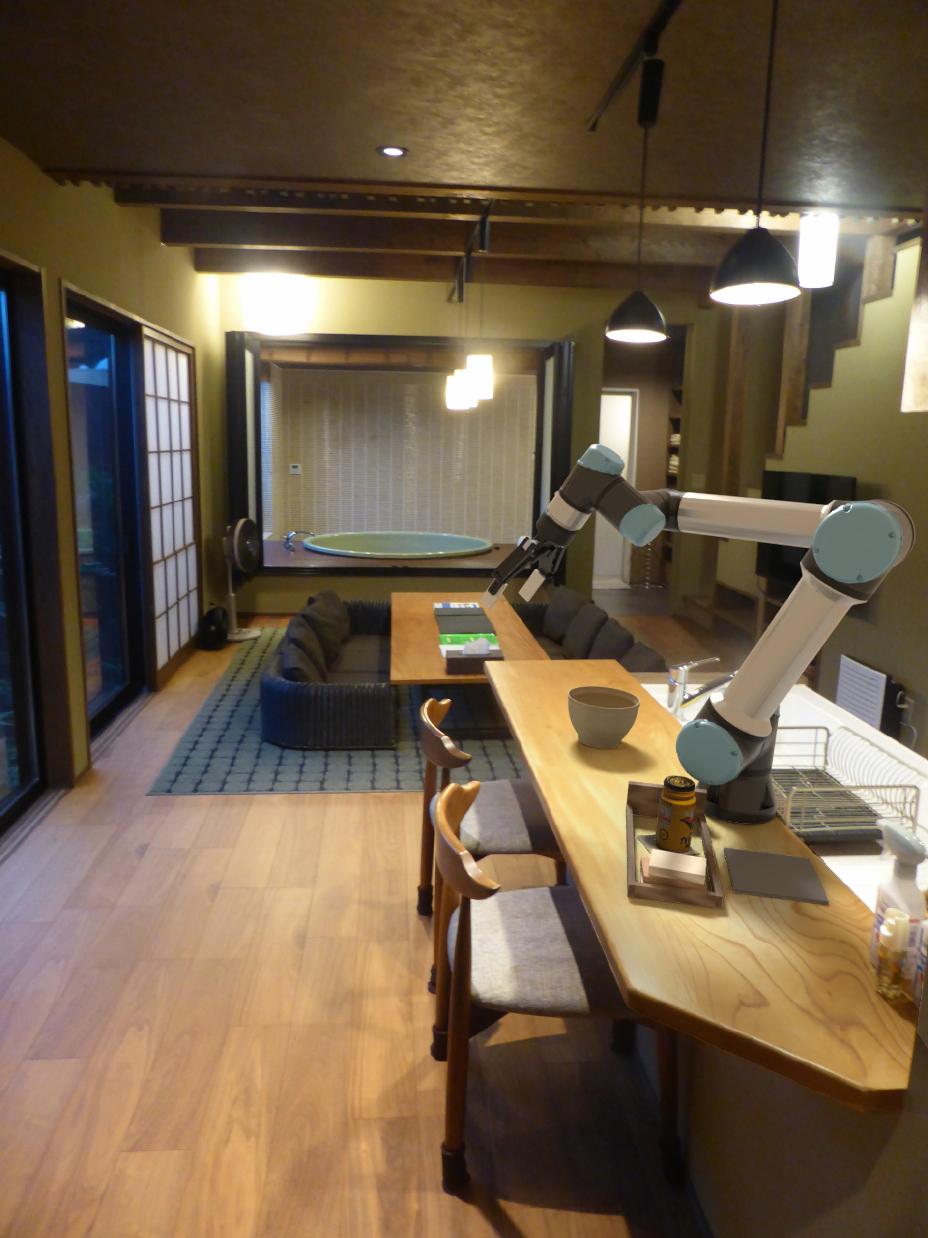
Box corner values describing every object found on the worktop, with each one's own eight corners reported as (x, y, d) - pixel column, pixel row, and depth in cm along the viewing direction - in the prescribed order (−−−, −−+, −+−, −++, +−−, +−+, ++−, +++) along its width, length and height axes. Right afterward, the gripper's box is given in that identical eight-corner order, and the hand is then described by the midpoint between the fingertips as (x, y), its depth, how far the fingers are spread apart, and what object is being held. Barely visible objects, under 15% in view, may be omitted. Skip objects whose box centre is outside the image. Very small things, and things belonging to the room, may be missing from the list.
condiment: (699, 854, 149) (707, 788, 146) (653, 857, 147) (660, 790, 144) (680, 834, 156) (687, 771, 153) (635, 837, 154) (642, 773, 151)
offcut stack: (703, 881, 140) (706, 855, 139) (706, 904, 134) (710, 876, 133) (639, 872, 142) (641, 846, 141) (639, 894, 135) (642, 867, 134)
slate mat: (809, 861, 148) (809, 858, 148) (828, 904, 135) (828, 901, 135) (723, 850, 150) (724, 847, 150) (734, 892, 137) (734, 889, 137)
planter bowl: (604, 761, 188) (608, 712, 185) (549, 738, 200) (553, 692, 197) (650, 745, 198) (655, 699, 196) (595, 725, 210) (599, 681, 208)
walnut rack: (702, 820, 162) (706, 789, 160) (721, 908, 132) (726, 872, 131) (625, 810, 164) (628, 780, 163) (627, 896, 134) (631, 860, 133)
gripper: (582, 504, 176) (526, 582, 187) (512, 508, 157) (455, 595, 167) (607, 528, 174) (550, 606, 184) (540, 535, 154) (480, 622, 165)
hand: (504, 601), depth 176 cm, fingers open, 13 cm apart
